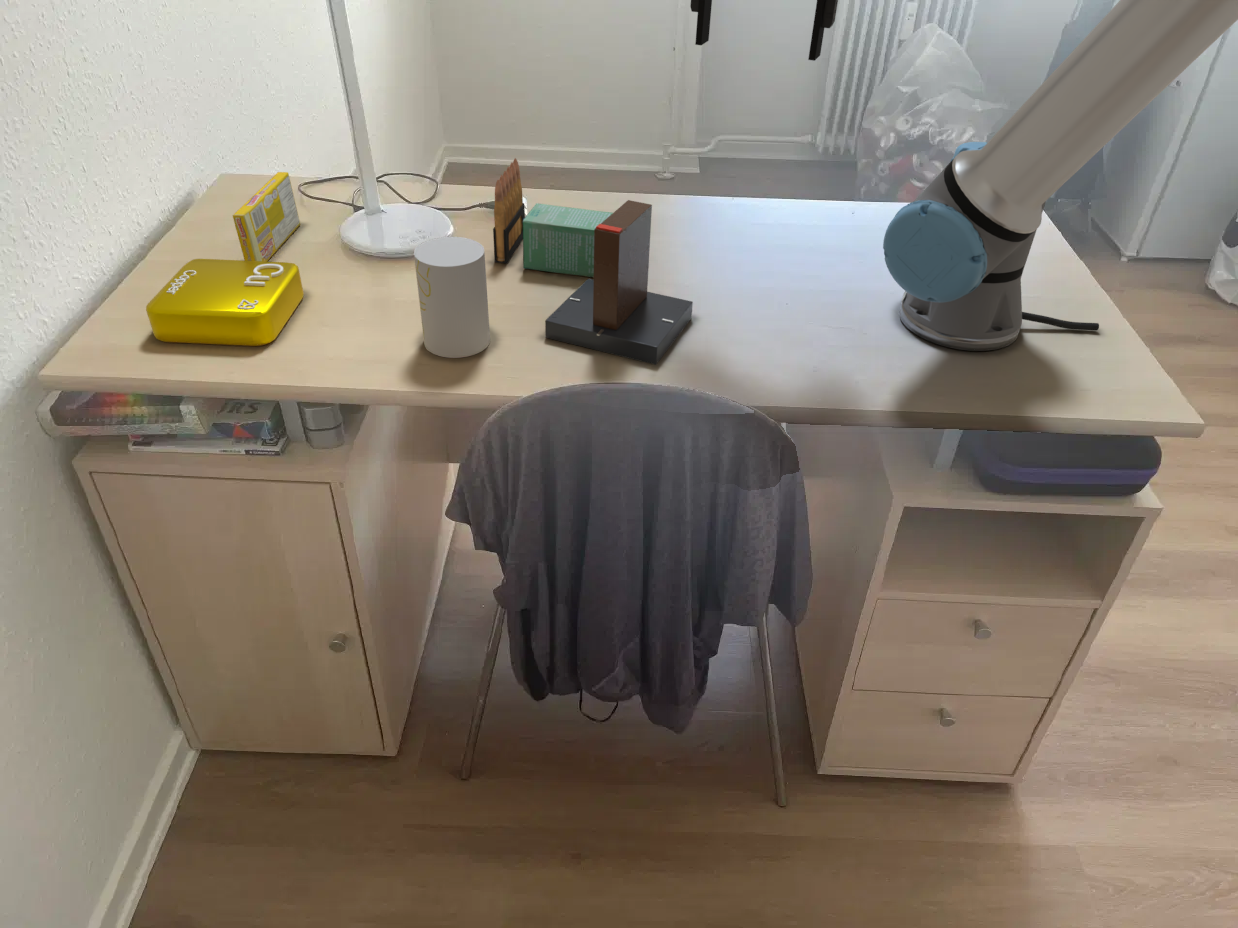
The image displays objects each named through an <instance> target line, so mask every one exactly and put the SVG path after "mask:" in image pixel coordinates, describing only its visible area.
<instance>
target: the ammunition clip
mask: <svg viewBox="0 0 1238 928" xmlns="http://www.w3.org/2000/svg"><path fill="white" fill-rule="evenodd" d="M521 179H522V178H521V171H520V165H519V161H518V159H517V158H516V157H514V159H513V161H511V162H510V165H509V166H507V168H506V170H504V171H503V174H501V175H500V176H499V179H497V180H496V182H495V186H494V207H493V218H494V220H493V221H494V227H493V228H492V234H493V237H492V238H493V256H494V259H493V260H494V263H497V264H508V263H509V262H510V260H511V259H512V257H513V256H514V254H515V252H516V251H517V249H518V248H519V247H520V245H521V243H523V219H524V218H525V217H526V213H525V212H526V209H525V203H524V202H523V201H524V200H523V186H522V180H521Z"/></svg>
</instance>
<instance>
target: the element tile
mask: <svg viewBox="0 0 1238 928" xmlns="http://www.w3.org/2000/svg"><path fill="white" fill-rule="evenodd" d="M300 273H301V272H300V269H299V266H298V265H297V264H296V263H293V262H287V261H286V262H285V261H284V262H282V261H267V262H265V261H245V260H244V259H243V260H242V259H241V260H238V259H220V258H219V259H218V258H217V259H216V258H194V259H191V260H190V261H188V262H187V263H185V264H184V265H183V266H182V267H181V268H180V269H179V270H178V271H177V272H176V273H175V274H174V275H173V277H171V279H169V280H168V282H167V283H166V284H165V285H164V286H162V288H161V289H160V290H159V291H158V293H156V294H155V296H153V298H151V300H149V302H148V303H147V304H146V306H145V310H146V314H147V317H148V321H149V325H150V327H151V331H152V333H153V336H154V338H155V339H156V340H157V341H161V342H165V343H179V344H181V343H182V344H198V345H199V344H200V345H201V344H202V345H204V344H205V345H224V346H245V347H259V346H265V345H268V344H270V343H272V342H274V341H275V340H276V339H277V337H278V336H279V334H280V333H281V331H282V330H283V328H284V327H285V325H286V324H287V322H288V321H289V319H290V318H291V316H292V315H293V313H294V312H295V310H296V309H297V307H298V305H299V304H300V303H301V301H302V300H303V298H304V295H305V294H304V288H303V283H302V278H301V274H300Z"/></svg>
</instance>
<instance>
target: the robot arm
mask: <svg viewBox="0 0 1238 928" xmlns="http://www.w3.org/2000/svg"><path fill="white" fill-rule="evenodd" d="M838 4H839V0H816V6H815V12H814V18H813V25H812V31H811V39H810V45H809V52H808V57H807V58H808V59H807V60H808V61H812V62H813V61H816V60H817V59H818V58H819V57H820V56H821V53H822V46H823V41H824V40H823V39H824V34H825V29H831V28H832V27H833V25H834V23H835V21H836V15H837V9H838ZM712 6H713V0H690V6H689V7H690V10H691V12H693V13H697V18H696V30H695V43H694V45H696V46H703V45H704V44H706V43H708V42H709V41H710V30H711V29H710V28H711V19H712V18H711V17H712ZM1237 21H1238V0H1118V2H1117V3H1116V4H1115V5H1114V6H1113V7H1112V8H1111V9H1110V11H1108V12H1107V14H1106V15H1105V16H1104V17H1103V18H1102V19H1101V20H1100V21H1099V22H1098V23H1097V24H1096V25H1095V27H1093V29H1092V30H1091V31H1090V32H1088V34H1087V35H1086V36H1085V37H1084V38H1083V39H1082V41H1080V43H1079V44H1078V45H1077V46H1076V47H1075V48H1074V49H1073V50H1072V51H1071V52H1070V53H1069V54H1068V56H1066V57H1065V58H1064V60H1063V61H1062V62H1061V63H1060V64H1059V65H1058V66H1057V67H1056V69H1054V71H1053V72H1052V73H1051V74H1050V75H1049V76H1048V77H1047V78H1046V79H1045V80H1044V81H1043V82H1042V84H1041V85H1040V86H1039V87H1038V88H1037V89H1035V91H1034V92H1033V93H1032V94H1031V95H1030V97H1029V98H1028V99H1026V101H1025V102H1024V103H1023V104H1022V105H1021V106H1020V107H1019V108H1018V109H1017V110H1016V111H1015V113H1014V114H1012V116H1011V117H1010V118H1009V119H1008V120H1007V121H1006V123H1004V124H1003V126H1002V127H1000V128H999V130H998V131H997V132H996V133H995V134H994V135H993V136H992V137H991V138H990V139H989V141H988V142H986V141H967V142H963V143H961V144H959V145H958V146H957V147H956V149H955V151H954V154H953V157H952V158H951V159H950V161H949V163H948V164H947V165H946V166H945V168H944V169H942V171H940V173H938V175H937V176H936V177H935V178H934V179H933V180H932V181H931V182H930V183H929V185H928V186H927V187H926V188H925V189H924V190H923V191H922V192H921V193H920V194H919V195H918V196H917V197H916V199H914V200H913V201H912V202H910V203H907V204H906V205H904V206H903V207H901V208H900V209H899V210H898V211H897V212H896V213H895V215H894V217H893V218H892V220H890V222H889V223H888V225H887V228H886V230H885V233H884V237H883V242H882V249H883V255H884V262H885V265H886V267H887V270H888V272H889V274H890V276H892V278H893V281H895V283H897V285H898V286H899V287H900V288H902V290H904V292H903V295H902V298H901V302H900V309H899V318H900V320H901V322H902V323H903V325H904V326H905V327H906V328H907V329H908V330H909V331H911V332H912V333H913V334H915V335H916V336H918V337H920V338H921V339H924V340H926V341H927V342H931V343H933V344H936V345H939V346H942V347H946V348H949V349H955V350H959V351H969V352H970V351H971V352H985V351H987V352H988V351H994V350H999V349H1003V348H1006V347H1008V346H1010V345H1011V344H1013V343H1014V342H1015V341H1016V340H1017V338H1018V336H1019V333H1020V330H1021V328H1022V325H1023V321H1029V322H1035V323H1039V324H1040V323H1041V324H1044V325H1049V326H1053V327H1058V328H1060V329H1061V328H1062V329H1066V330H1067V329H1068V330H1077V331H1078V330H1079V331H1099V328H1100V324H1099V322H1078V321H1070V320H1063V319H1059V318H1055V317H1051V316H1047V315H1042V314H1035V313H1031V312H1025V311H1023V305H1022V303H1023V302H1022V301H1023V300H1022V276H1023V273H1024V269H1025V266H1026V264H1027V260H1028V257H1029V254H1030V251H1031V248H1032V246H1033V242H1034V239H1035V236H1036V233H1037V230H1038V228H1040V226H1041V224H1042V221H1043V211H1044V209H1045V205H1046V202H1047V201H1048V200H1049V199H1050V198H1051V197H1052V196H1053V195H1054V194H1055V193H1056V192H1057V191H1058V190H1060V188H1062V186H1064V185H1065V184H1066V183H1067V182H1068V181H1069V180H1070V179H1071V178H1072V177H1073V176H1074V175H1075V174H1076V173H1077V172H1078V171H1079V170H1080V169H1081V168H1083V166H1085V165H1086V164H1087V163H1088V162H1090V160H1091V159H1092V158H1093V157H1095V156H1096V154H1098V153H1099V151H1101V150H1102V149H1103V148H1104V147H1105V146H1106V145H1107V144H1108V143H1109V142H1110V141H1111V140H1112V139H1113V138H1114V137H1115V136H1117V134H1119V133H1120V131H1122V130H1123V129H1124V128H1125V127H1126V126H1127V125H1128V124H1129V123H1130V122H1131V121H1133V119H1135V118H1136V117H1137V115H1139V114H1140V113H1141V112H1142V111H1143V110H1144V109H1145V108H1146V107H1147V106H1148V105H1149V104H1150V103H1152V101H1153V100H1154V99H1156V97H1158V96H1159V95H1160V94H1161V93H1162V92H1163V91H1164V90H1165V89H1166V88H1167V87H1168V86H1169V85H1171V83H1172V82H1174V81H1175V80H1176V79H1177V78H1178V77H1179V76H1180V75H1181V74H1182V73H1183V72H1184V71H1185V70H1186V69H1188V67H1189V66H1190V65H1191V64H1192V63H1194V62H1195V61H1196V60H1197V59H1198V58H1199V57H1200V56H1202V54H1203V53H1204V52H1205V51H1206V50H1208V48H1209V47H1211V46H1212V45H1213V44H1214V43H1215V42H1216V41H1217V40H1218V39H1219V38H1220V37H1221V36H1222V35H1223V34H1225V33H1226V32H1227V30H1228V29H1230V28H1231V27H1232V26H1233V25H1234V24H1235V23H1236V22H1237Z"/></svg>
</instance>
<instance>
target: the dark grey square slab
mask: <svg viewBox="0 0 1238 928" xmlns="http://www.w3.org/2000/svg"><path fill="white" fill-rule="evenodd" d="M593 286H594V278H593V279H592V278H587V279H586V280H585V281H584V282H583V283H582V284H581V285H580V286H579V287H578V288H577V289H576V290H574V291H573V293H572V294H571V295H569V297H567V299H566V300H565V301H563V302H562V304H561V305H559V306H558V307H557V308H556V309H555V310H554V311H553V312H552V313H551V314H550V315H549V316H548V317H547V318H546V319H545V321H544V322H545V323H544V326H545V332H544V333H545V339H549V340H552V341H553V340H554V341H558V342H562V343H566V344H570V345H575V346H578V347H582V348H586V349H590V350H595V351H599V352H603V353H607V354H610V355H614V356H619V357H623V358H627V359H632V360H635V361H640V362H643V363H648V364H651V365H655V366H656V365H657V364H658V363H659V362H660V360H661V359H662V358H663V356H664V355H665V354H666V352H667V351H668V350H669V348H670V347H671V346H672V344H673V343H674V342H675V341H676V339H677V338H678V337H679V335H680V334H681V333H682V331H683V330H684V329H685V327H686V326H687V325H688V323H689V322H690V321H691V320H692V315H693V305H694V303H693V301H691V300H687V299H684V298H683V299H682V298H677V297H674V296H669V295H665V294H660V293H655V292H651V291H647V297H646V298H645V299H644V300H643V301H642V303H641V304H640V305H639V306H638V307H637V308H636V309H635V310H634V311H633V312H632V314H631V315H630V316H629V317H628V318H627V319H626V320H625V321H624V322H623V323H622V325H621V326H620V327H619V328H618V329H617V330H613V329H609V328H605V327H601V326H597V325H593Z"/></svg>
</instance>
